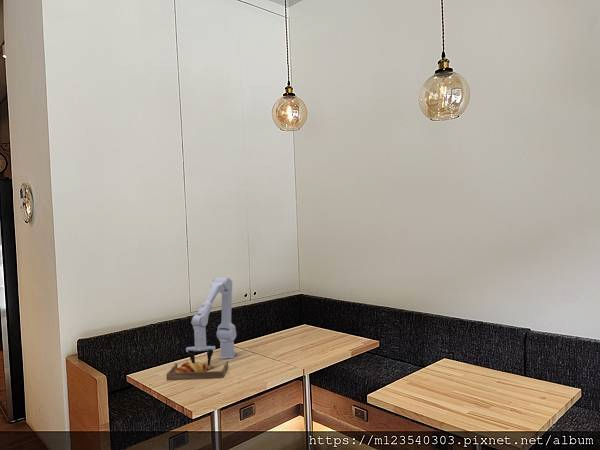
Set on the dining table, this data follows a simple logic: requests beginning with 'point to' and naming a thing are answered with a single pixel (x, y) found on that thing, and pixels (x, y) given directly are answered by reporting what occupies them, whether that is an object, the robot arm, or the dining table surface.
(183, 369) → the croissant
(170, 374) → the frame
